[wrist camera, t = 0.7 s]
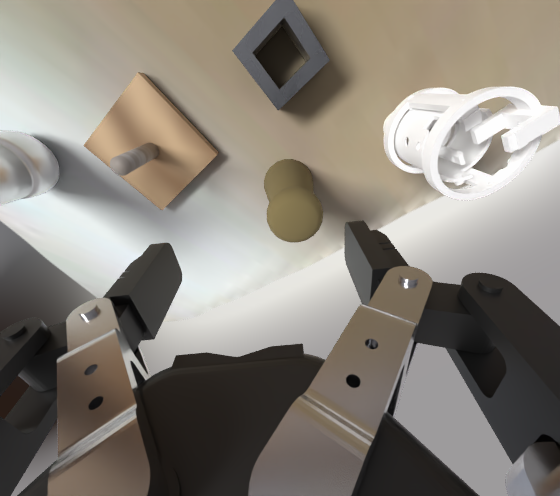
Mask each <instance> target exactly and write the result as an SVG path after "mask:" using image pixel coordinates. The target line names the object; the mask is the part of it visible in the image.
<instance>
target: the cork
mask: <svg viewBox="0 0 560 496" xmlns="http://www.w3.org/2000/svg"><path fill="white" fill-rule="evenodd" d="M264 189H265V192H266V194H267V197H268V200H269V205H268V209H267V222H268V224H269V227H270V229H271V231H272V232H273V233H274V234H275V235H276V236H277V237H278V238H280V239H282V240H284V241H287V242H301V241H304V240H307V239H309V238H310V237H312V236H313V235H314V234H315V233H316V232H317V231H318V230H319V228H320V226H321V223H322V218H323V210H322V206H321V203H320V201H319V200H318V198H317V197H316V195H315V194H314V193H313V179H312V175H311V172H310V171H309V169H308V168H307V166H305V165H304V164H303V163H301V162H300V161H296V160H293V159H285V160H282V161H279V162H277V163H275V164H274V165H273V166H271V167H270V169H269V170H268V172H267V173H266V176H265V180H264Z"/></svg>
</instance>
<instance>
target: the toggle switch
mask: <svg viewBox="0 0 560 496" xmlns="http://www.w3.org/2000/svg"><path fill="white" fill-rule="evenodd" d="M84 147H86V148H87V149H88V150H89V151H91V152H92V153H93V154H94V155H95V156H97V157H98V158H99V159H100V160H101V161H103V162H104V163H105V164H106V165H107V166H109V167H110V168H111V169H112V170H113V172H115V173H116V174H118V175H119V176H121V177H122V178H123V179H124V180H126V181H127V182H128V183H129V184H130V185H132V186H133V187H134V188H135V189H136V190H138V191H139V192H140V193H141V194H142V195H144V196H145V197H146V198H147V199H148V200H150V201H151V202H152V203H153V204H155V205H156V206H157V207H158V208H159V209H161V210H163V209H164V208H165V207H166V206H167V205H168V204H169V203H170V202H171V201H172V200H173V199H174V198H175V197H176V196H177V195H178V194H179V193H180V192H181V191H182V190H183V189H184V188H185V187H186V186H187V185H188V184H189V183H190V182H191V181H192V180H193V179H194V178H195V177H196V176H197V175H198V174H199V173H200V172H201V171H202V170H203V169H204V168H205V167H206V166H207V165H208V164H209V163H210V162H211V161H212V160H213V159H214V158H215V157H216V156H217V155H218V153H219V152H218V151H217V150H216V149H215V148H214V147H213V146H212V145H211V144H210V143H209V142H208V141H207V140H206V138H205V137H204V136H203V135H202V134H201V133H200V132H199V131H198V130H197V129H196V128H195V127H194V126H193V125H192V124H191V123H190V122H189V121H188V120H187V119H186V117H185V116H184V115H183V114H182V113H181V112H180V111H179V110H178V109H177V108H176V107H175V106H174V105H173V104H172V103H171V102H170V101H169V100H168V99H167V98H166V96H165V95H164V94H163V93H162V92H161V91H160V90H159V89H158V88H157V87H156V86H155V85H154V84H153V83H152V82H151V81H150V80H149V79H148V78H147V76H146V75H145V74H144V73H139V72H138V73H137V74H136V76H135V77H134V78H133V80H132V81H131V82H130V84H129V85H128V86H127V88H126V89H125V91H124V92H123V93H122V95H121V96H120V97H119V99H118V100H117V101H116V103H115V104H114V105H113V107H112V108H111V109H110V111H109V112H108V113H107V115H106V116H105V117H104V119H103V120H102V121H101V123H100V124H99V126H98V127H97V128H96V130H95V131H94V132H93V134H92V135H91V136H90V138H89V139H88V140H87V142H86V143H85V144H84Z"/></svg>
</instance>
